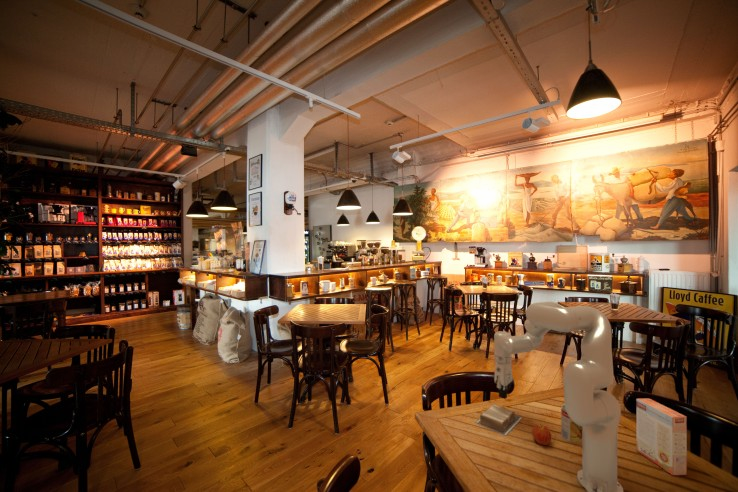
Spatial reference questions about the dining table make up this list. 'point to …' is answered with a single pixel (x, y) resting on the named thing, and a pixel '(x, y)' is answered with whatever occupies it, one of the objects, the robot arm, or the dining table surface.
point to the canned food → (570, 428)
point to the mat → (509, 428)
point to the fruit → (541, 434)
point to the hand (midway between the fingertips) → (502, 397)
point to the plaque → (497, 417)
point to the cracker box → (662, 435)
